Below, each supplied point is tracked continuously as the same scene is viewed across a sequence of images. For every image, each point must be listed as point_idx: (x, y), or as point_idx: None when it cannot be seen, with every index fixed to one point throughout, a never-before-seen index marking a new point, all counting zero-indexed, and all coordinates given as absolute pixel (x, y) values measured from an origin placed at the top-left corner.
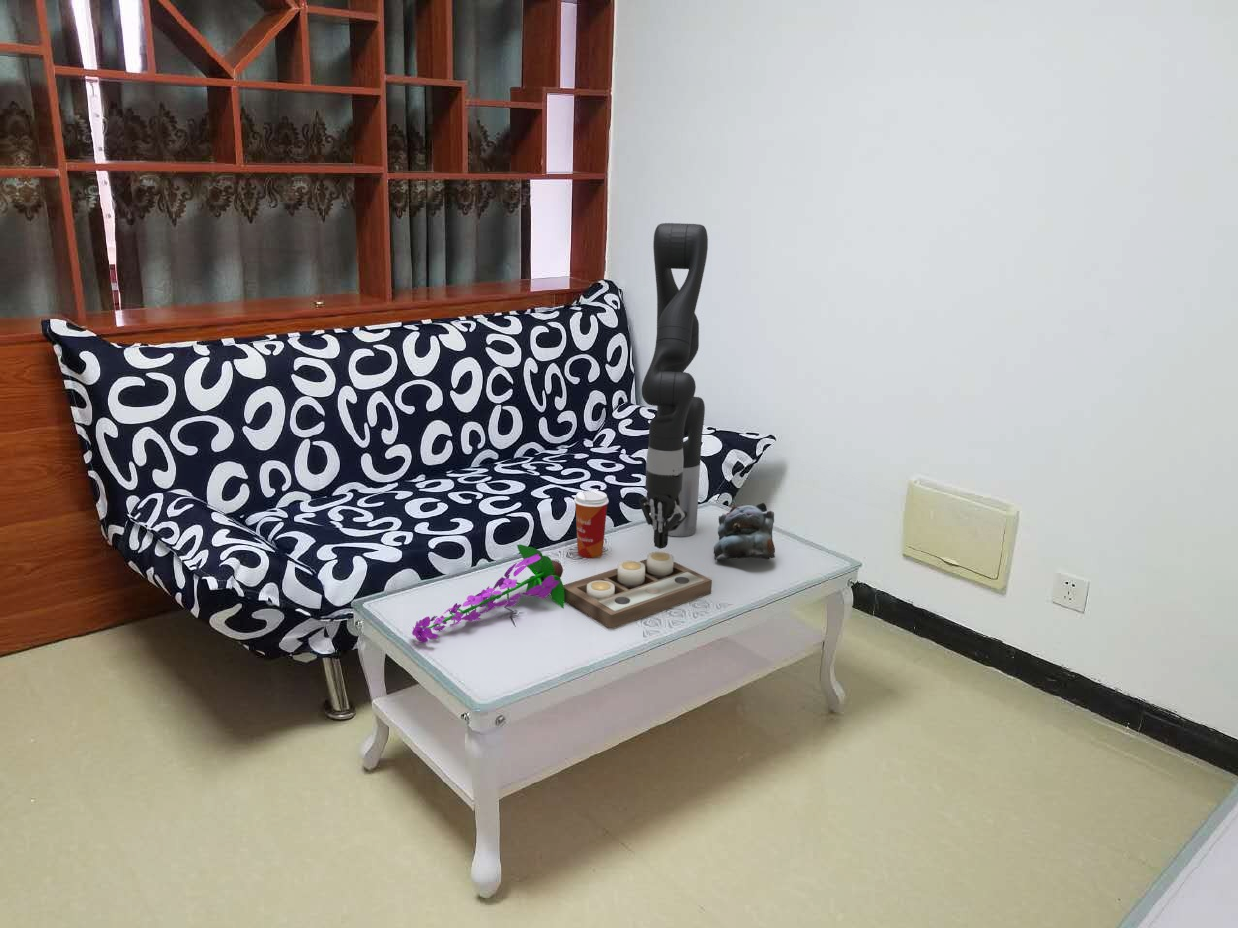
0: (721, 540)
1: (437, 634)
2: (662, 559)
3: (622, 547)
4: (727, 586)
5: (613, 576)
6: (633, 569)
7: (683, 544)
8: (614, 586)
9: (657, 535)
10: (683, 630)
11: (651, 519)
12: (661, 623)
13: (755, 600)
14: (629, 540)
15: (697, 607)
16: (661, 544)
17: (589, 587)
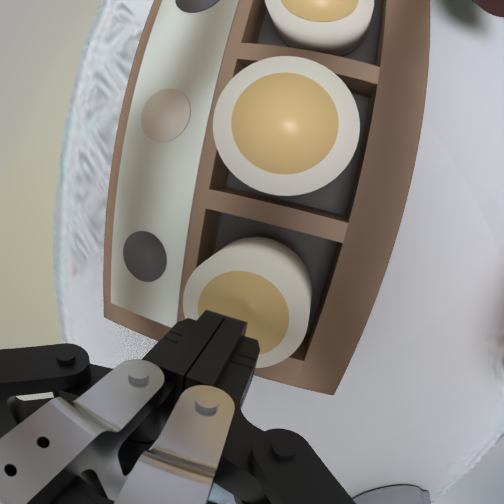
0: (221, 493)
1: None
2: (212, 291)
3: (474, 398)
4: (130, 353)
5: (371, 116)
6: (243, 90)
7: (344, 477)
8: (278, 19)
9: (192, 355)
10: (74, 88)
11: (258, 477)
12: (117, 67)
13: (65, 318)
14: (466, 431)
15: (101, 204)
16: (186, 325)
17: None
